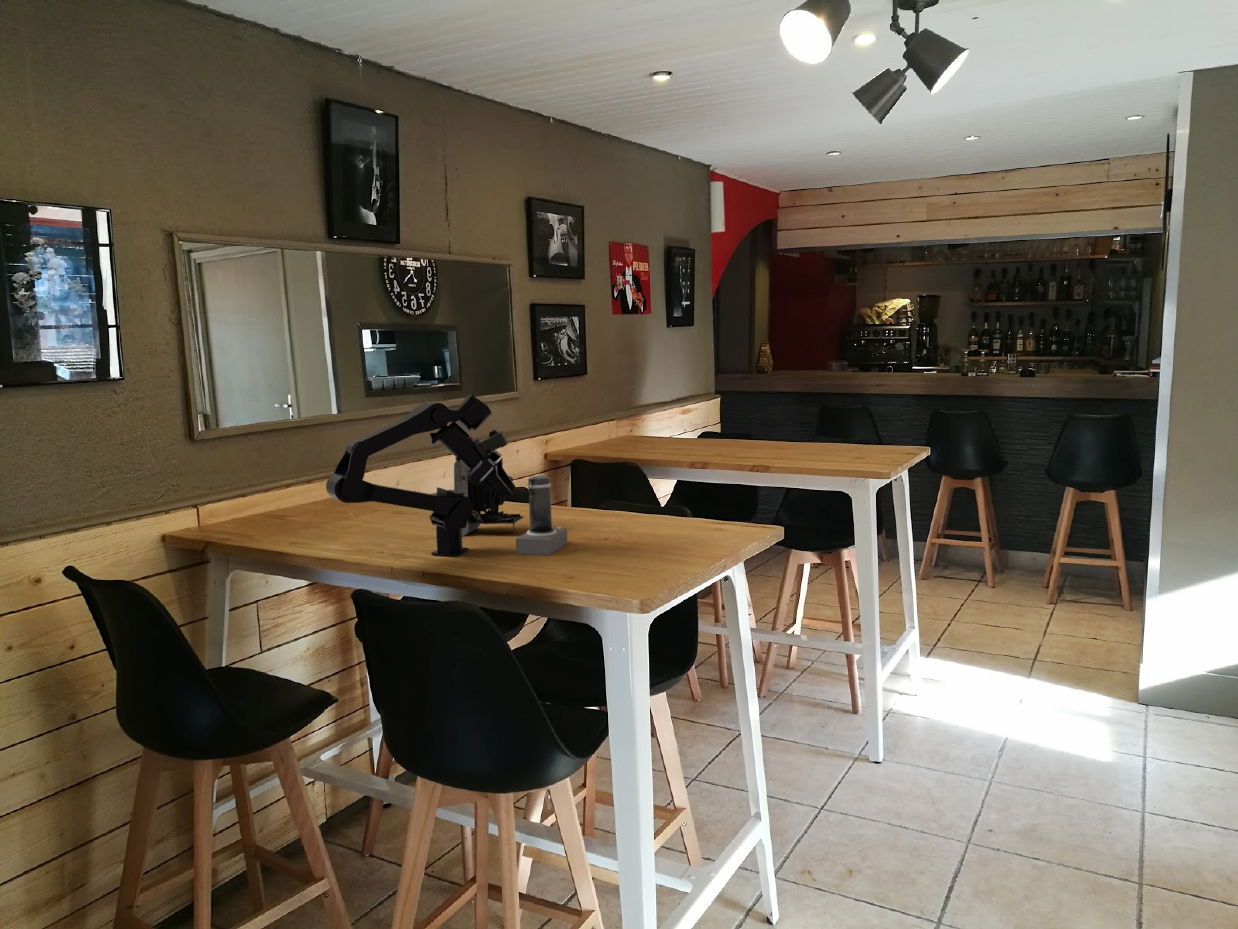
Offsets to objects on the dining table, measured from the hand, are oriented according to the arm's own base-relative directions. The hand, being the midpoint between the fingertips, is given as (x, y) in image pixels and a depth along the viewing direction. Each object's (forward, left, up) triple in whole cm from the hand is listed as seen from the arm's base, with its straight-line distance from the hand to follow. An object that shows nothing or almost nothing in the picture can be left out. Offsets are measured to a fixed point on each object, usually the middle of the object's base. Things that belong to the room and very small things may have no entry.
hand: (512, 491), depth 204 cm
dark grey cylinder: (+2, -6, -9) cm, 11 cm away
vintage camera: (+16, +14, -14) cm, 25 cm away
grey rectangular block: (+2, -6, -14) cm, 15 cm away
